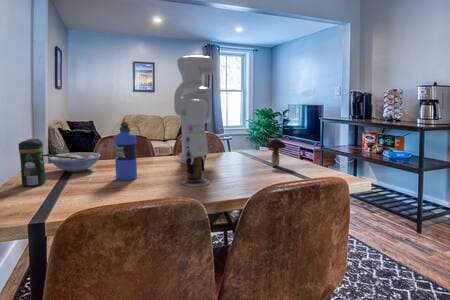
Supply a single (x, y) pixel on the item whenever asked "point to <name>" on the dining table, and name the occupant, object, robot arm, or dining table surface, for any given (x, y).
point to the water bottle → (125, 154)
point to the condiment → (196, 170)
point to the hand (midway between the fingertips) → (195, 171)
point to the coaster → (195, 183)
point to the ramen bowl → (74, 161)
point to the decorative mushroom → (275, 150)
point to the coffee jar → (32, 162)
